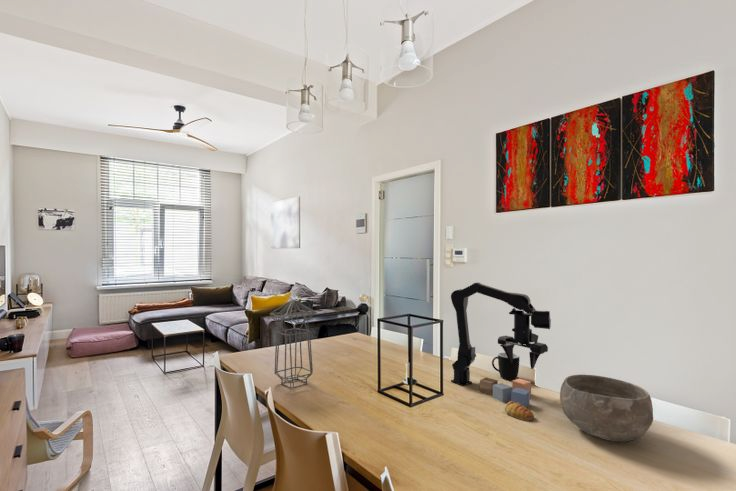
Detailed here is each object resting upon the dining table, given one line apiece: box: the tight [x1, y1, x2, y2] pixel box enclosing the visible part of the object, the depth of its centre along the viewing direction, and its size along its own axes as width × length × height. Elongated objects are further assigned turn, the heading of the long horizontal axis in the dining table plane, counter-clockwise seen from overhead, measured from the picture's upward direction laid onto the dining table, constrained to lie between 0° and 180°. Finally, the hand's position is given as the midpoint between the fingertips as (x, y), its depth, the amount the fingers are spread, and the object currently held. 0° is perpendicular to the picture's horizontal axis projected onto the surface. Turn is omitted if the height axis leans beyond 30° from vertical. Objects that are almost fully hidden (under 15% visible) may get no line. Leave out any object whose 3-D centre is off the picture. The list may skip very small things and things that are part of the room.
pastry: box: [504, 401, 535, 422], centre depth 130 cm, size 9×7×4 cm
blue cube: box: [511, 388, 531, 408], centre depth 139 cm, size 5×5×5 cm
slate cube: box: [492, 382, 512, 403], centre depth 144 cm, size 5×5×5 cm
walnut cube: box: [479, 377, 499, 397], centre depth 151 cm, size 5×5×5 cm
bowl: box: [559, 374, 654, 442], centre depth 117 cm, size 24×24×15 cm
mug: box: [491, 352, 520, 381], centre depth 170 cm, size 12×9×10 cm
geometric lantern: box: [269, 299, 318, 389], centre depth 159 cm, size 16×16×35 cm
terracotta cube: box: [511, 378, 532, 395], centre depth 150 cm, size 5×5×5 cm
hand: (521, 365), depth 150 cm, fingers open, 9 cm apart
